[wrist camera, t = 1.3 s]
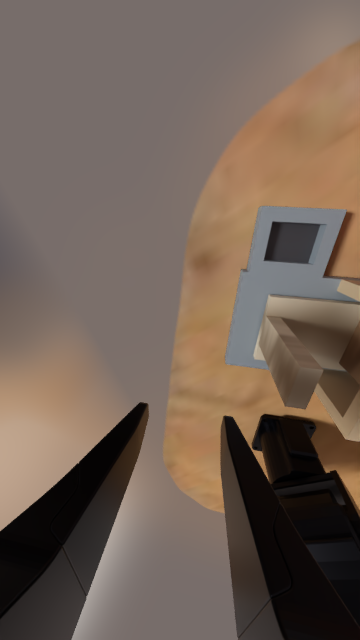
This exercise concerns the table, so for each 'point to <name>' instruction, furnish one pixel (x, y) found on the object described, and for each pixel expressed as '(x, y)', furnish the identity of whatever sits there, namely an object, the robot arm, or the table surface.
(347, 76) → the table surface
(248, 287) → the crate on grey tray
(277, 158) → the table surface
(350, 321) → the tan blocky structure
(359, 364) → the block
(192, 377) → the table surface
